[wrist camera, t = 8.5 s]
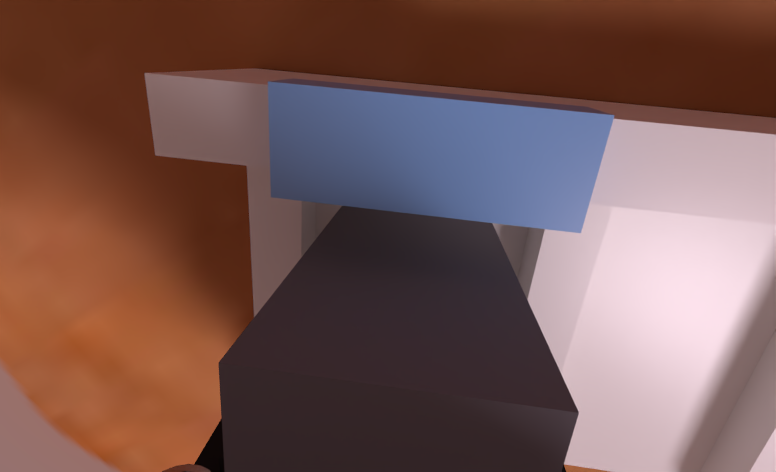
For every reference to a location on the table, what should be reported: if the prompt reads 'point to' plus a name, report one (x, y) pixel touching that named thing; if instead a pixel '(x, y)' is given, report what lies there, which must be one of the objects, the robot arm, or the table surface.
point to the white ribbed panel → (539, 232)
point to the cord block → (396, 358)
